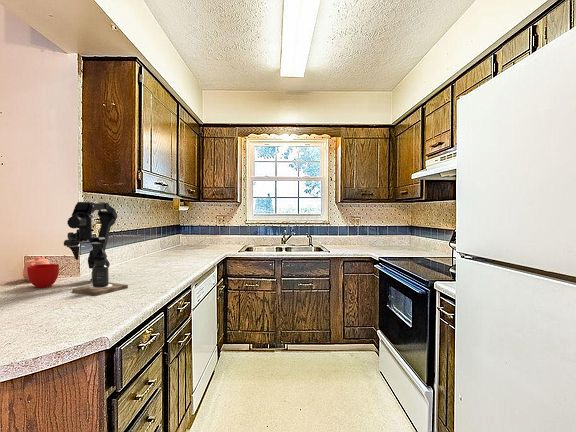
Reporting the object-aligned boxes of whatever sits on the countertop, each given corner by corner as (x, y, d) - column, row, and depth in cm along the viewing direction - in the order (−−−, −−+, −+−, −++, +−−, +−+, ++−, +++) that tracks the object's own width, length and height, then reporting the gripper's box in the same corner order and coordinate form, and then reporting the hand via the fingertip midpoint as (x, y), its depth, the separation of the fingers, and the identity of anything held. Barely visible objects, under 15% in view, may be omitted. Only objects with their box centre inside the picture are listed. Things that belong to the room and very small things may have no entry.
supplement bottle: (111, 284, 178) (111, 259, 178) (103, 287, 172) (103, 261, 171) (98, 284, 179) (97, 259, 179) (89, 287, 172) (88, 261, 172)
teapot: (44, 282, 192) (44, 258, 192) (17, 283, 189) (17, 260, 189) (56, 275, 212) (55, 254, 211) (31, 276, 208) (31, 254, 208)
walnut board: (105, 284, 187) (104, 281, 186) (127, 287, 179) (127, 284, 179) (72, 291, 171) (72, 287, 171) (95, 295, 164) (95, 291, 164)
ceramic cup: (50, 281, 194) (50, 262, 194) (63, 286, 183) (63, 265, 183) (21, 285, 184) (20, 265, 184) (32, 290, 173) (32, 269, 173)
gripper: (91, 225, 197) (91, 255, 198) (56, 227, 180) (56, 260, 181) (106, 226, 192) (106, 256, 193) (71, 228, 175) (71, 261, 176)
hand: (85, 258), depth 186 cm, fingers open, 9 cm apart
